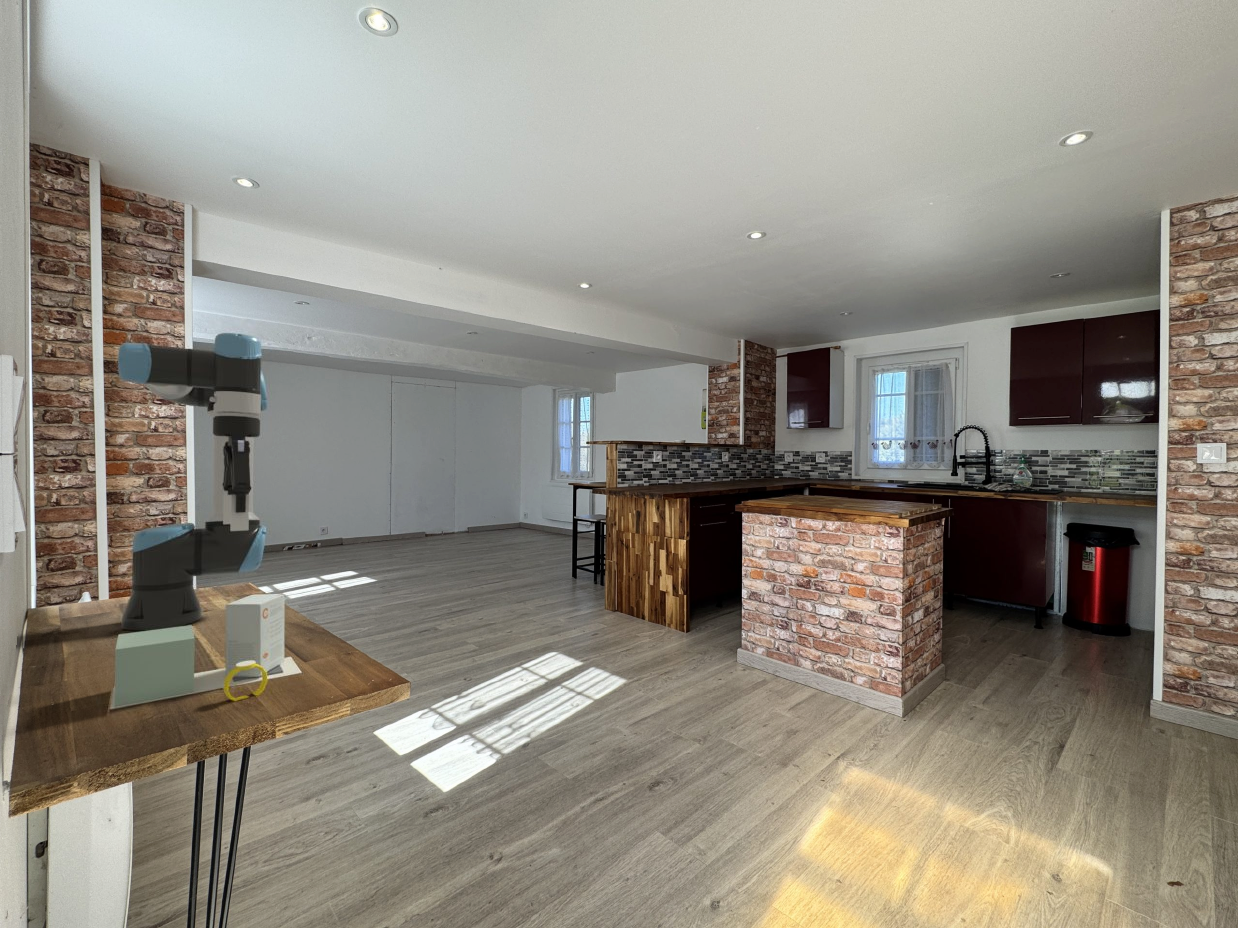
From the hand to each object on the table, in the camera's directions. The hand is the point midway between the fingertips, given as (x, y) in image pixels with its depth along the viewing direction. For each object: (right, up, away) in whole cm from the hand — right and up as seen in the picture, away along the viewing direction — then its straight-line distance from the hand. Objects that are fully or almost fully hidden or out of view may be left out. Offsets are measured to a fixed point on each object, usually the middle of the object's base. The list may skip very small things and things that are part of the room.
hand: (235, 527), depth 110 cm
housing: (-5, -26, -13) cm, 29 cm away
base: (+1, -26, -8) cm, 28 cm away
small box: (+6, -26, -4) cm, 27 cm away
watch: (+12, -27, -15) cm, 33 cm away
